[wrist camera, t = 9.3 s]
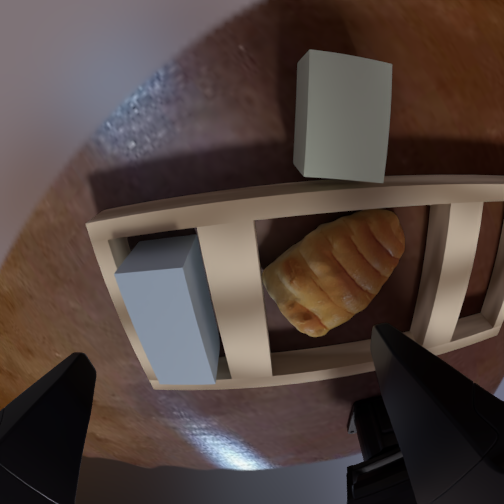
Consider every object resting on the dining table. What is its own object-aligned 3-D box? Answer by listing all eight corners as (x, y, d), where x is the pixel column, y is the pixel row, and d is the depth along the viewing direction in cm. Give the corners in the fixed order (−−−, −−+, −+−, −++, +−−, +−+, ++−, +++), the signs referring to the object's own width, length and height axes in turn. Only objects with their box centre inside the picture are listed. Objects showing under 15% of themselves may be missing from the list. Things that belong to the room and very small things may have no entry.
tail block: (357, 168, 17) (383, 183, 13) (292, 163, 17) (303, 176, 13) (363, 72, 14) (391, 63, 11) (296, 63, 14) (309, 49, 11)
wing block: (220, 340, 23) (215, 384, 19) (172, 342, 23) (160, 384, 19) (197, 233, 19) (182, 267, 15) (140, 240, 19) (113, 273, 15)
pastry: (362, 174, 17) (387, 191, 14) (412, 246, 19) (438, 272, 16) (252, 270, 20) (253, 304, 17) (315, 324, 22) (324, 360, 19)
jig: (484, 319, 22) (497, 334, 20) (160, 368, 24) (154, 389, 22) (517, 176, 16) (537, 185, 14) (103, 210, 18) (85, 223, 16)
